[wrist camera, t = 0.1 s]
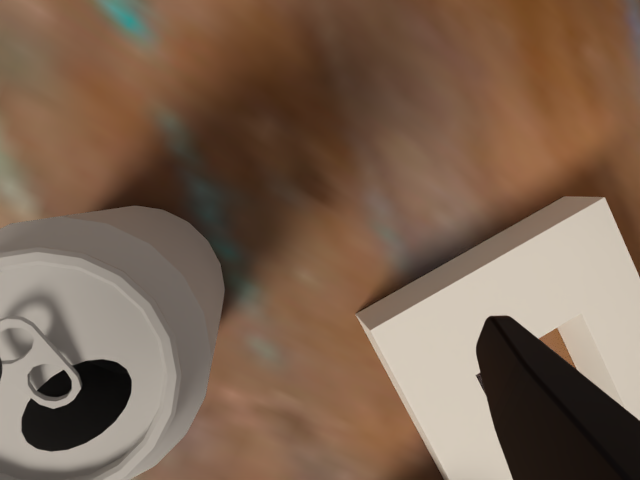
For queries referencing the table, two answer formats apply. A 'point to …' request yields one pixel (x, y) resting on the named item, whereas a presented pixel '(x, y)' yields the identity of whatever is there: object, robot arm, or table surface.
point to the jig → (523, 306)
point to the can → (103, 341)
